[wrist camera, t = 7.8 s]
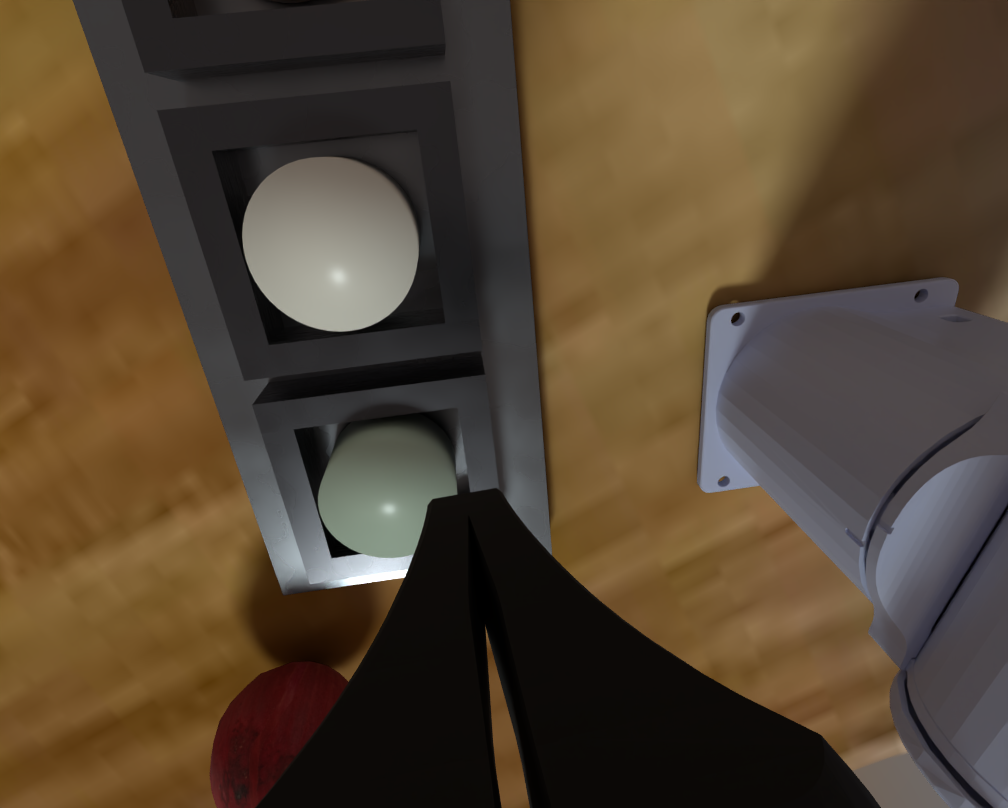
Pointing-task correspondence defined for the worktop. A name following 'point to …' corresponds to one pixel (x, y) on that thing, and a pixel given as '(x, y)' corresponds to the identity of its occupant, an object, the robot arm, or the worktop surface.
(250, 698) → the onion
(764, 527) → the worktop surface
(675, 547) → the worktop surface
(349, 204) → the button cream
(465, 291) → the tray
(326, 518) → the button sage
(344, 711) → the robot arm
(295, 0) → the button terracotta
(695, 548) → the worktop surface
